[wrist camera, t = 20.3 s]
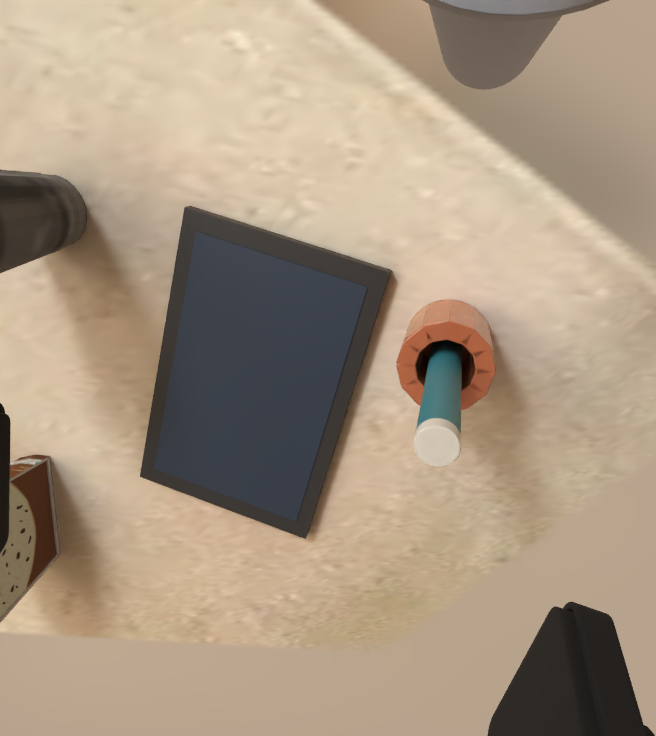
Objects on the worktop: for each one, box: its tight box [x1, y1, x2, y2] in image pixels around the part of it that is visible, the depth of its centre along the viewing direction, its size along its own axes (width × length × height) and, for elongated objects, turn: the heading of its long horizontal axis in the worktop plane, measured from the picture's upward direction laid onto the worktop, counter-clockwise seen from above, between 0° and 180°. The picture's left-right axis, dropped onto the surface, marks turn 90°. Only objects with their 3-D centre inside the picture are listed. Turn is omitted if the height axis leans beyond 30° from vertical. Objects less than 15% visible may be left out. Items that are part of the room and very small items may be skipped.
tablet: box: [140, 206, 391, 539], centre depth 39 cm, size 20×13×1 cm, turn 164°
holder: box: [396, 300, 496, 410], centre depth 33 cm, size 5×5×5 cm
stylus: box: [413, 340, 462, 467], centre depth 29 cm, size 2×2×13 cm
